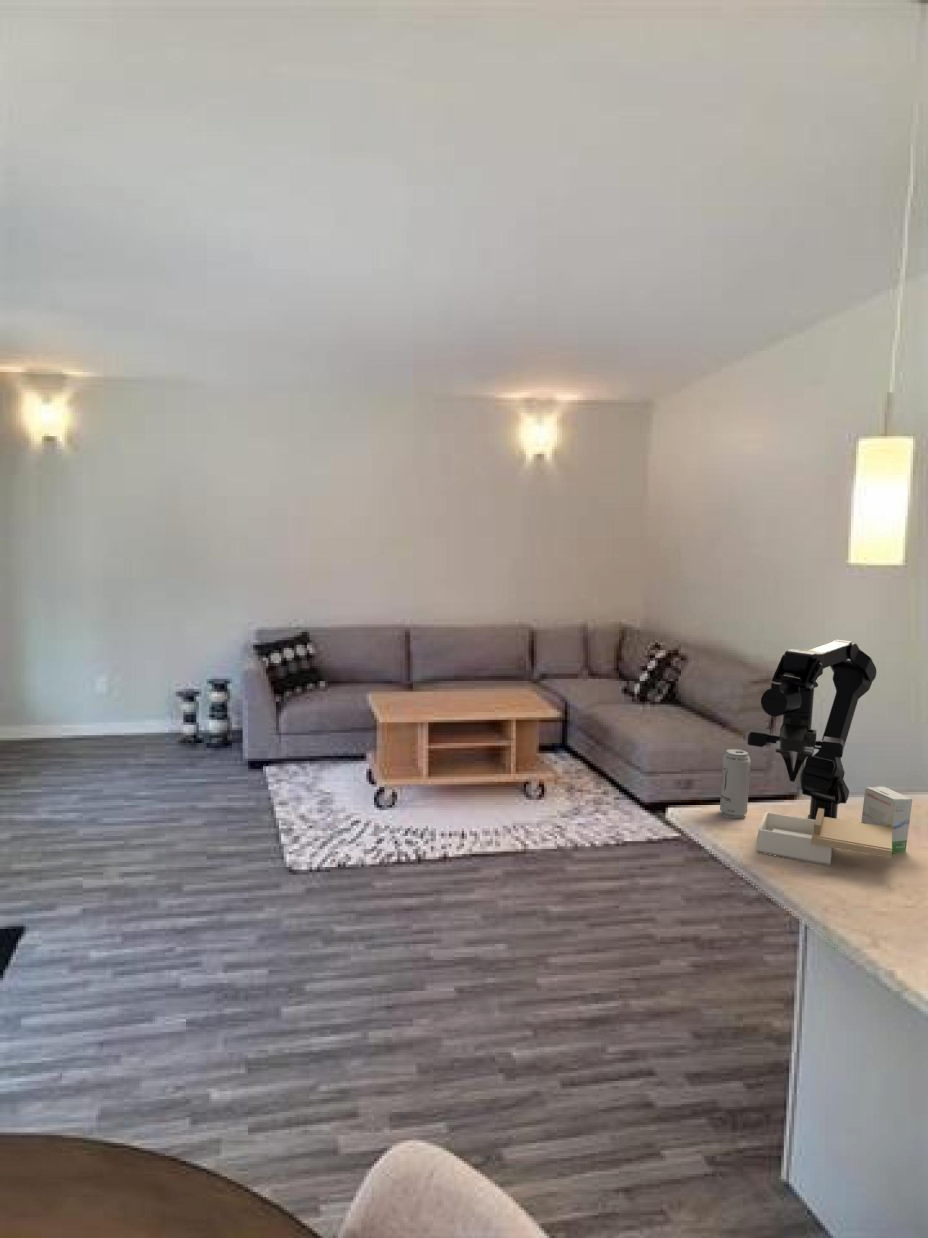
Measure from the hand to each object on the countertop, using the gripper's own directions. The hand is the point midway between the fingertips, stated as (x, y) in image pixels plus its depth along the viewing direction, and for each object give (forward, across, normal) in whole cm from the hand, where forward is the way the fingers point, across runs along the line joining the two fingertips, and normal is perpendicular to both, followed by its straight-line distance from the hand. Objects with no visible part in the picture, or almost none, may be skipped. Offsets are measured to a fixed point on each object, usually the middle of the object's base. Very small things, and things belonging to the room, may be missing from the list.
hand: (792, 781), depth 187 cm
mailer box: (+13, +2, -5) cm, 14 cm away
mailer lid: (+9, +13, -5) cm, 16 cm away
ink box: (+13, +18, +7) cm, 24 cm away
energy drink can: (+13, -13, +10) cm, 21 cm away
